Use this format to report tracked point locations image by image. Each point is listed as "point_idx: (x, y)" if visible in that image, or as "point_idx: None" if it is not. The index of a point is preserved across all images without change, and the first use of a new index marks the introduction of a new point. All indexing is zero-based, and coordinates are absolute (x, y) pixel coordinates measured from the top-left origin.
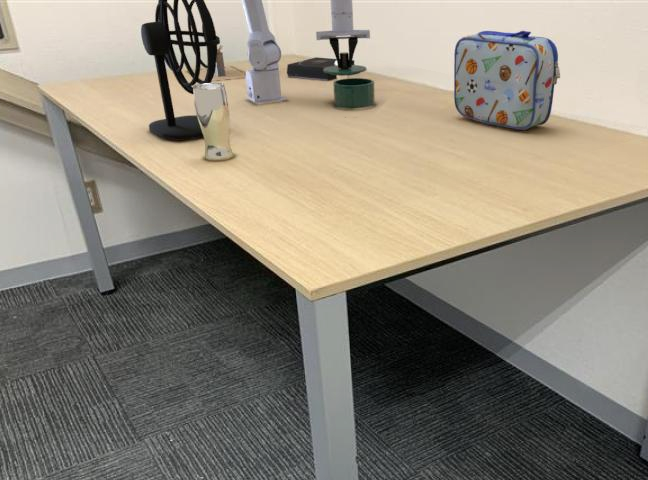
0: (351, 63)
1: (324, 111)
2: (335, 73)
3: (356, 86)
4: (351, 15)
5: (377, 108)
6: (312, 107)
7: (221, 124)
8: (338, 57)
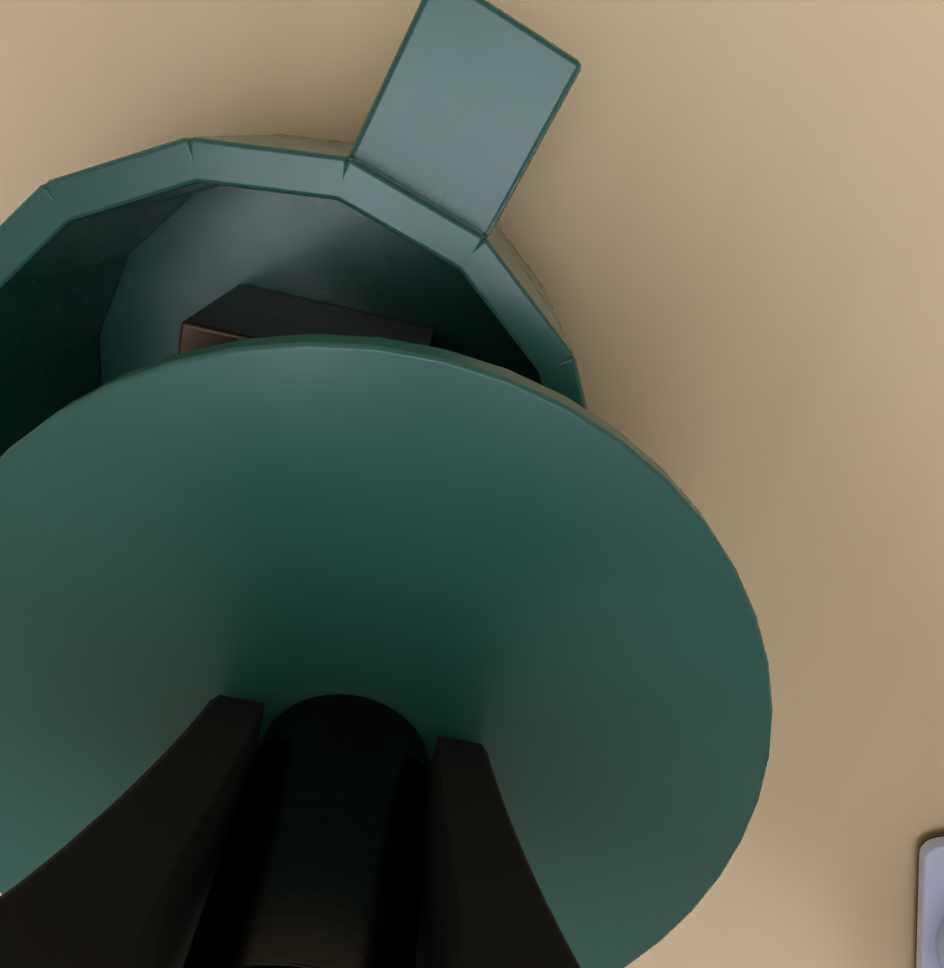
0: (188, 734)
1: (750, 242)
2: (639, 451)
3: (277, 150)
4: None
5: (67, 129)
6: (797, 499)
7: None
8: (485, 890)
